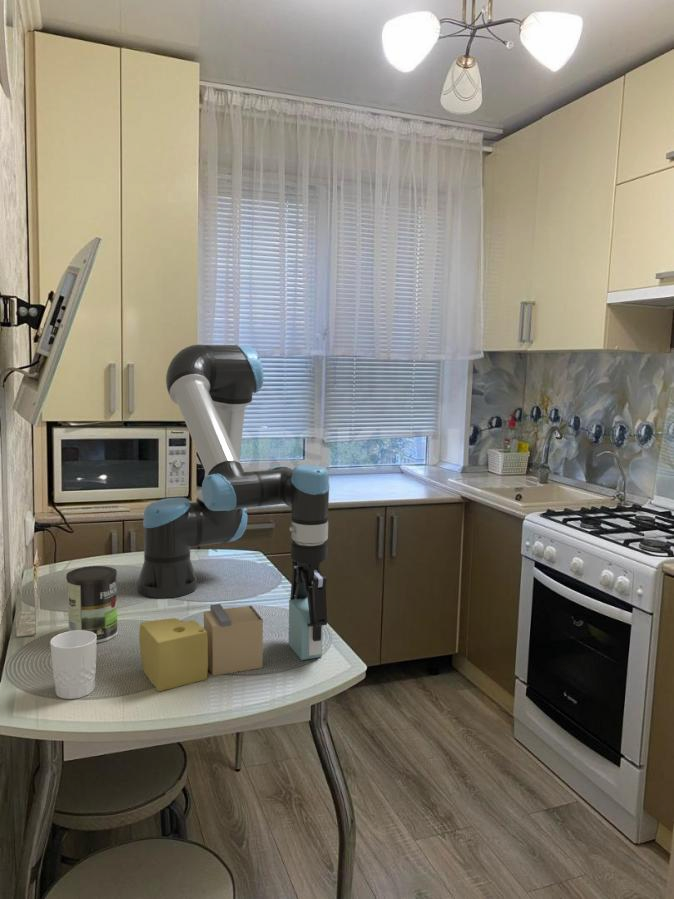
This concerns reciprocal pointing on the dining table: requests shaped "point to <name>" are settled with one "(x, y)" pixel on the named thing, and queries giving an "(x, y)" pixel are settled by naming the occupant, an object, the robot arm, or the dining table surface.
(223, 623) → the slotted tan box
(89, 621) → the coffee can
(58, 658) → the white cup
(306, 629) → the light blue box
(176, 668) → the cheese
